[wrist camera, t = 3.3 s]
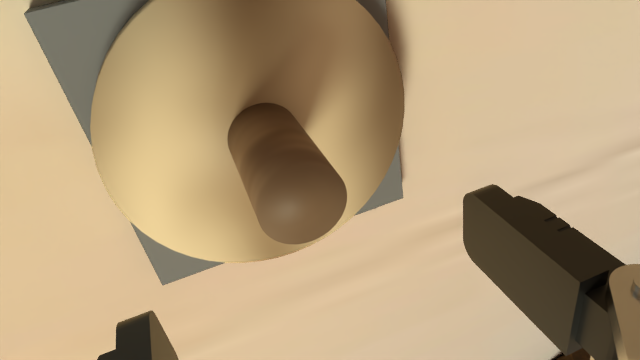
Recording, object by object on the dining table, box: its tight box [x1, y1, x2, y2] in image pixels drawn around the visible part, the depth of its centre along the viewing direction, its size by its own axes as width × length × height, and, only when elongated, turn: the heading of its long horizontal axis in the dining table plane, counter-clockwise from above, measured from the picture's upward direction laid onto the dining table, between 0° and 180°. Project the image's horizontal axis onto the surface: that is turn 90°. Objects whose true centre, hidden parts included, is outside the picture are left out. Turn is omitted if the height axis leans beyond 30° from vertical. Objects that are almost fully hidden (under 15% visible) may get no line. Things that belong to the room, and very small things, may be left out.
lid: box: [90, 0, 404, 263], centre depth 16 cm, size 12×12×6 cm
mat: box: [24, 0, 403, 285], centre depth 19 cm, size 12×12×1 cm
